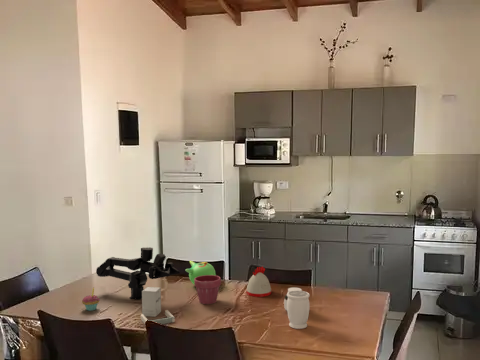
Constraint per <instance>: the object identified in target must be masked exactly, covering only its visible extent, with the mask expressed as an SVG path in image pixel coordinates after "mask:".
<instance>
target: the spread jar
mask: <svg viewBox="0 0 480 360" xmlns="http://www.w3.org/2000/svg"><path fill="white" fill-rule="evenodd" d="M290 291H303V289H302V288H300V287H288V288H287V293H288V292H290ZM287 293H286V294H285V296H284V298H283V299H284V300H283V304H284V305H283V307H284V310H285V311H286V312H287V299H288V297H287Z"/></svg>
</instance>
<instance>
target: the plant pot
mask: <svg viewBox="0 0 480 360" xmlns="http://www.w3.org/2000/svg"><path fill="white" fill-rule="evenodd" d="M221 283H222V282H221V277H220V276H219V275H203V276H198V277H196V278H195V279H194V284H193V285H194V287H195V289H196V292H197V293H196V294H197V297H198V302H199V303H200V304H203V305H211V304H215V303H216V302H217V299H218V294H219V290H220V286H221Z"/></svg>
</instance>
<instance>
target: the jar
mask: <svg viewBox="0 0 480 360" xmlns="http://www.w3.org/2000/svg"><path fill="white" fill-rule="evenodd" d="M286 294H287V297H288V299H287V311H286V313H287V317H288V322H289V323H288V326H289V327H291V328H293V329H295V330H301V329H305V328H307V327H308V324H307V323H308V319H309V315H310V314H309V313H310V307H311V304H310V300H309V298H310V293H309V292H307V291H304V290H302V291H290V292H288V291H287V293H286Z"/></svg>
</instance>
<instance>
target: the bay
mask: <svg viewBox="0 0 480 360" xmlns="http://www.w3.org/2000/svg"><path fill="white" fill-rule="evenodd" d="M164 315H165V316H166V317H162V318H158V319H151V320H150V321H154V322H157V323H161V324H160V325H164V324H169V323H170V324H171V323H175V321H176V318H175V316H174V315H173V314H172V313H171V312H170V310H168V309H166V310H165V311H164ZM140 320H141V322H142V323H143V324H144V325H145V322H146V321H147V320H148V318H147V316H144V315H143V314H142V313H141V314H140ZM148 321H149V320H148Z"/></svg>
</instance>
